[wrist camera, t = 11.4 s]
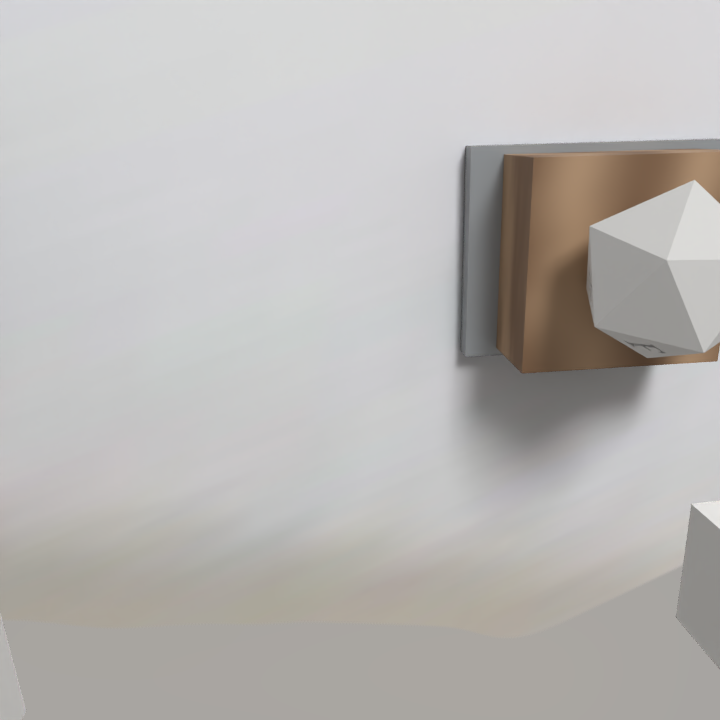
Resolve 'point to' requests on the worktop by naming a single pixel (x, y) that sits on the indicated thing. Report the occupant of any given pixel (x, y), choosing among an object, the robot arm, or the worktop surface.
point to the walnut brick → (576, 249)
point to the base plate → (486, 227)
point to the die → (659, 274)
